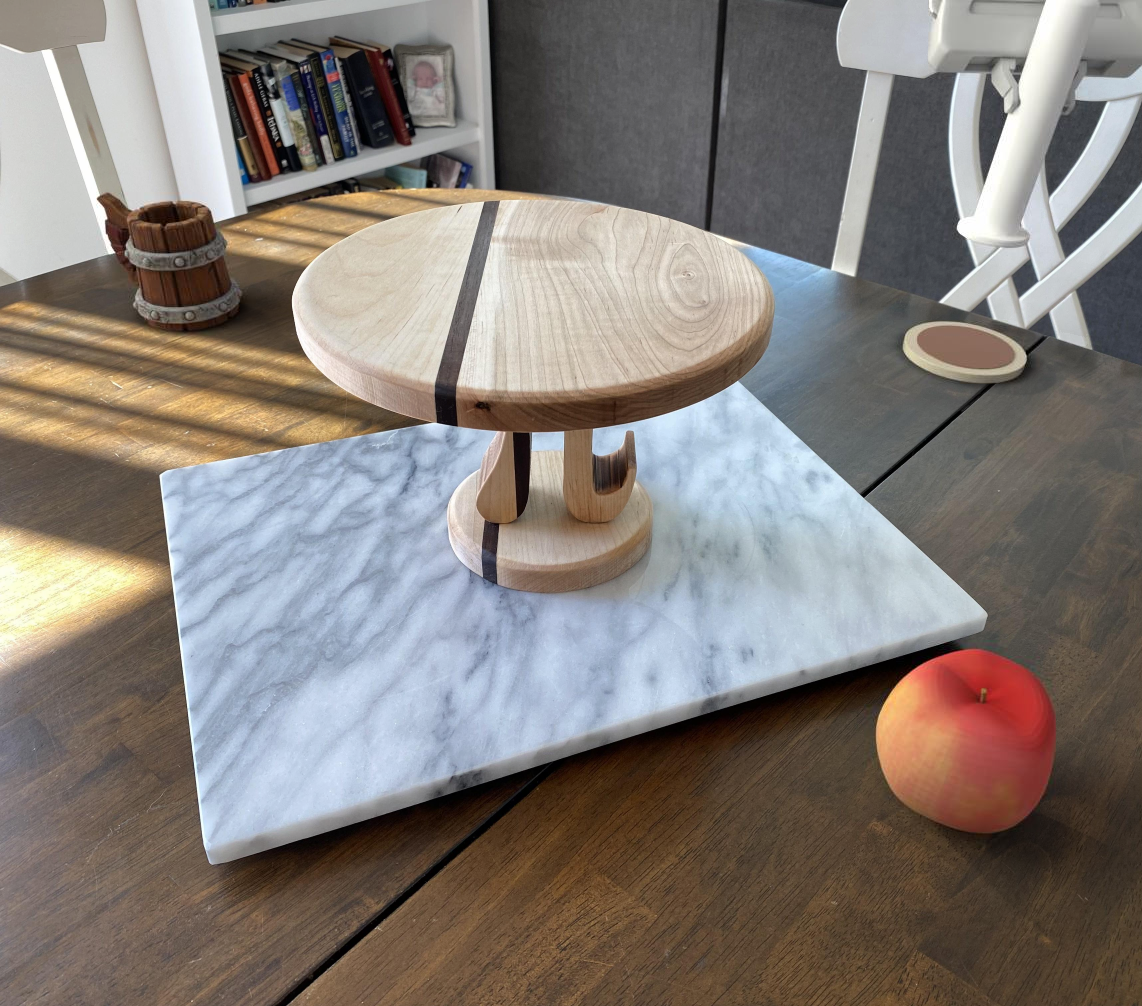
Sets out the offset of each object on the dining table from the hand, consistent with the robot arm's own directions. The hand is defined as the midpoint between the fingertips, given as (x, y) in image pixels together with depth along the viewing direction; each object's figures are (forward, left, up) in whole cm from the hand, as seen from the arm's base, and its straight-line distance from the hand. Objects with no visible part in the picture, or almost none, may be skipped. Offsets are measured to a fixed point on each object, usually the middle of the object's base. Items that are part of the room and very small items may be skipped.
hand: (1039, 110), depth 89 cm
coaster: (0, -1, -26) cm, 26 cm away
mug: (+82, -39, -27) cm, 94 cm away
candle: (+1, -1, -13) cm, 13 cm away
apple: (+40, +47, -27) cm, 67 cm away
